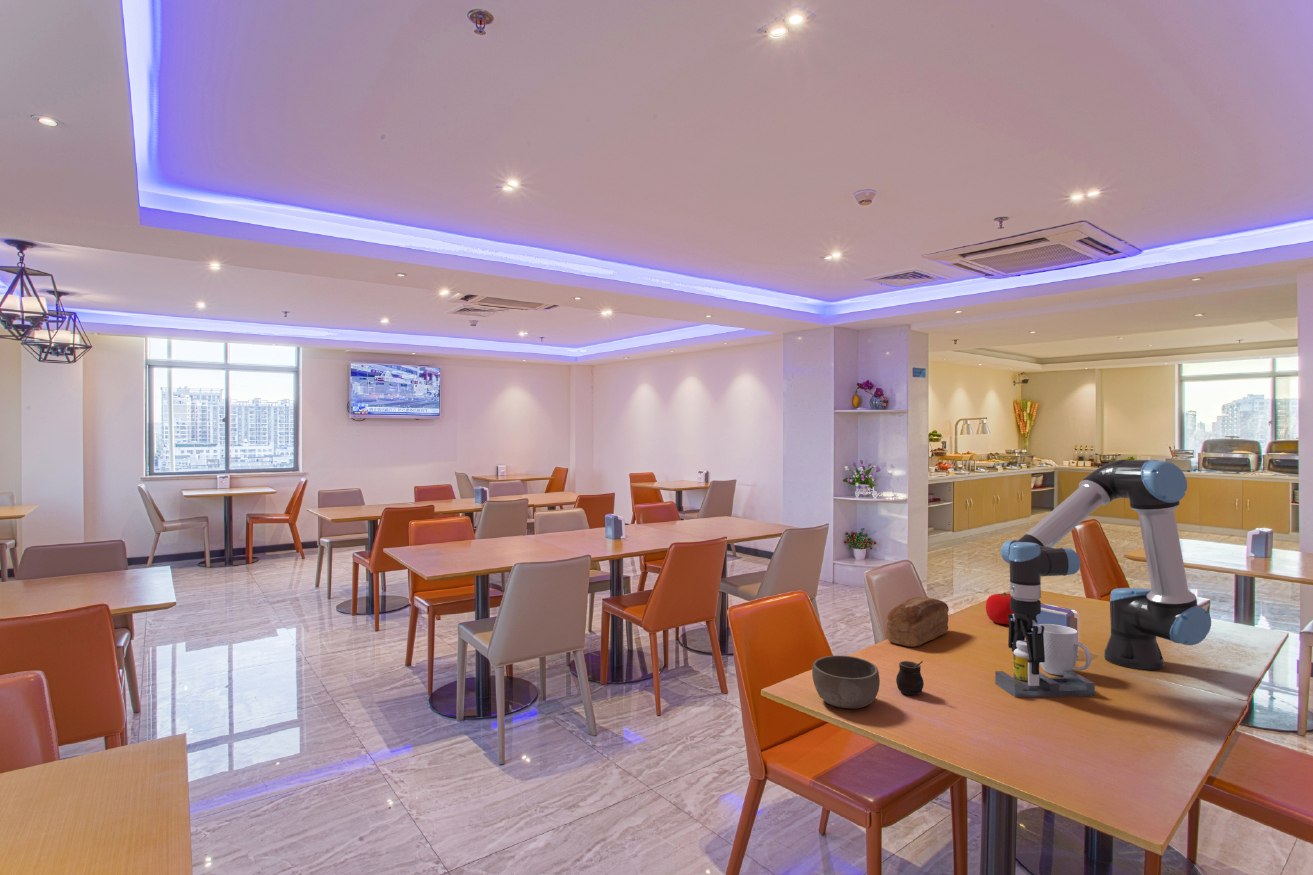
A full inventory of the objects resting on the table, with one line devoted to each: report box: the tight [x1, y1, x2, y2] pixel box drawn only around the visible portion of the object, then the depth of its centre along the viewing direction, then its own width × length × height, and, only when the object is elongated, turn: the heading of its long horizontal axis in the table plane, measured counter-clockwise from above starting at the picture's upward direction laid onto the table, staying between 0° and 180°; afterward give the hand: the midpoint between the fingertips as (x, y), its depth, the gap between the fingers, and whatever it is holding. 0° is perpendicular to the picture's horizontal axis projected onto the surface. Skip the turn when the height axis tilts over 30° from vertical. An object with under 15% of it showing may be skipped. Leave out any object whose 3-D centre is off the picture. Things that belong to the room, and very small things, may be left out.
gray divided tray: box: [994, 670, 1096, 698], centre depth 184 cm, size 22×10×4 cm, turn 91°
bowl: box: [811, 655, 881, 710], centre depth 176 cm, size 17×18×10 cm
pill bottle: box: [1012, 640, 1030, 685], centre depth 184 cm, size 6×6×11 cm
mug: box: [1038, 623, 1092, 677], centre depth 196 cm, size 15×11×13 cm
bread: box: [885, 596, 950, 648], centre depth 233 cm, size 12×31×14 cm, turn 133°
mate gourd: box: [895, 660, 925, 697], centre depth 182 cm, size 7×8×10 cm
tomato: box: [985, 592, 1015, 626], centre depth 251 cm, size 13×14×12 cm
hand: (1026, 680), depth 183 cm, fingers closed on pill bottle, 6 cm apart
